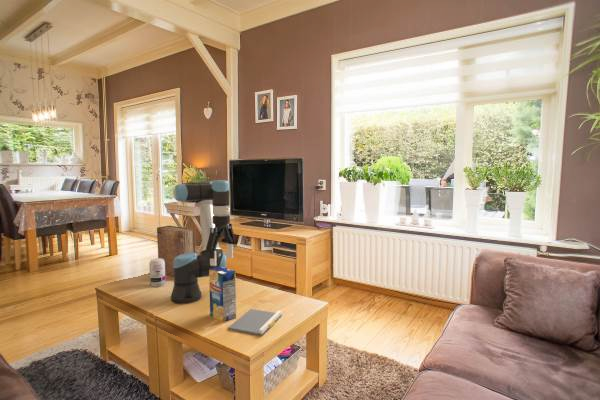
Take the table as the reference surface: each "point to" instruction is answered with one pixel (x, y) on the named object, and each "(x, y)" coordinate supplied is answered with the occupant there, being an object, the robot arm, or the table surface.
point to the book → (174, 244)
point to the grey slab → (255, 322)
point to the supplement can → (157, 272)
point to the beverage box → (222, 293)
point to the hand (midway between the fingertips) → (222, 261)
